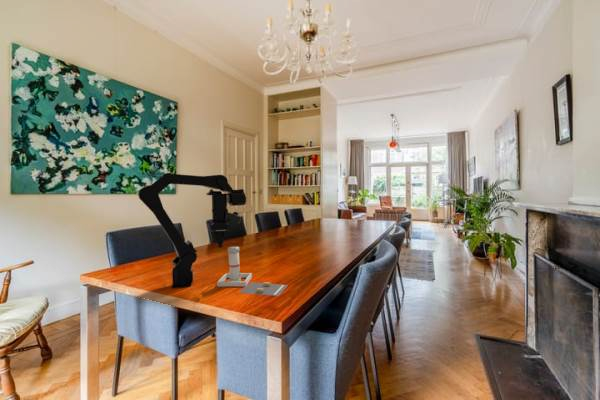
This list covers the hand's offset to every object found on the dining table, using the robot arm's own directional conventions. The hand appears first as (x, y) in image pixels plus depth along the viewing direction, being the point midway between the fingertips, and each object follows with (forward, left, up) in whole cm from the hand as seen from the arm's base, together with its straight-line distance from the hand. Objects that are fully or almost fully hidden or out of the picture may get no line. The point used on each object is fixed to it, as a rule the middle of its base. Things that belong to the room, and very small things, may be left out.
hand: (220, 245), depth 109 cm
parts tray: (+5, -10, -13) cm, 17 cm away
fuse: (+5, -10, -12) cm, 17 cm away
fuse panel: (+14, -21, -13) cm, 28 cm away
